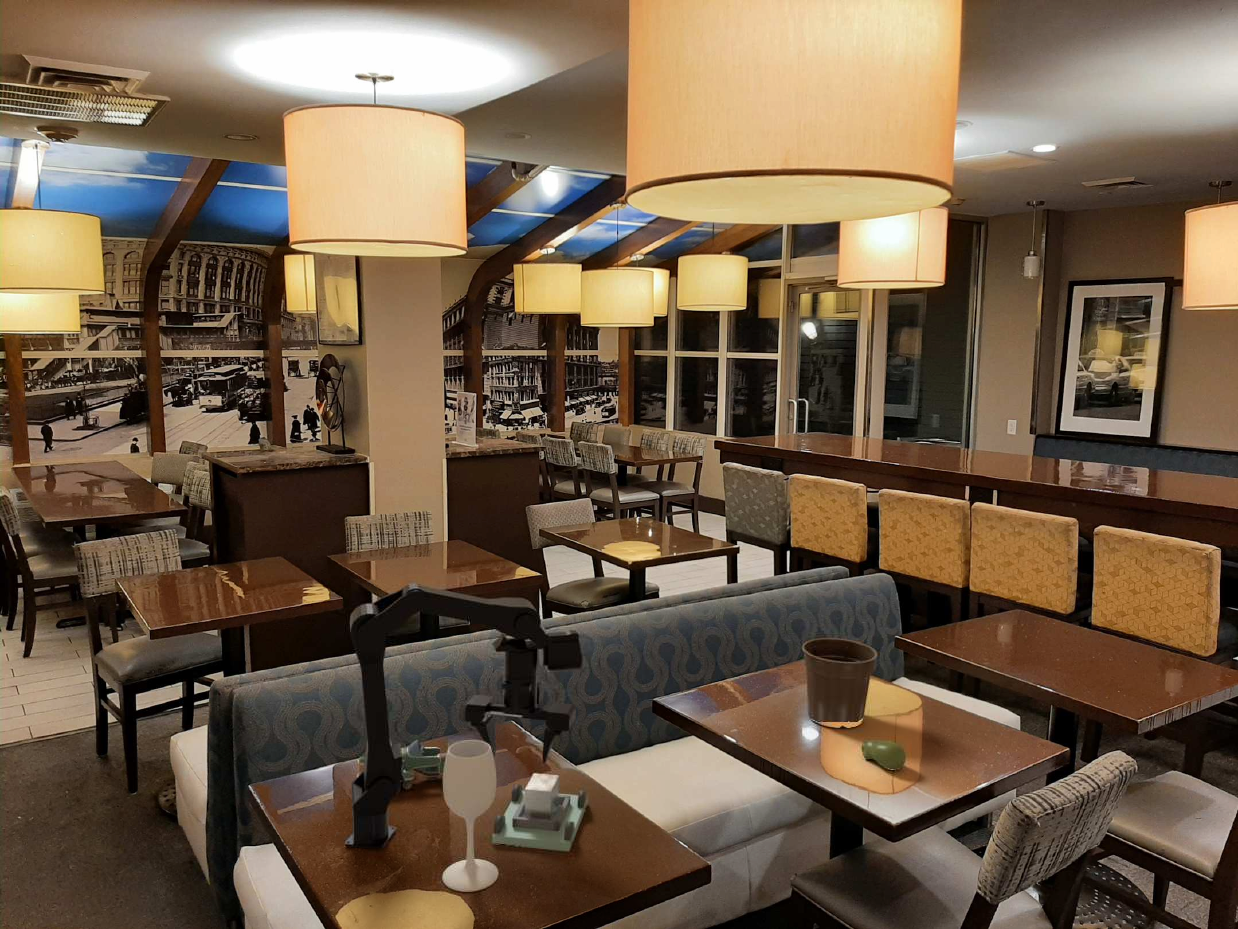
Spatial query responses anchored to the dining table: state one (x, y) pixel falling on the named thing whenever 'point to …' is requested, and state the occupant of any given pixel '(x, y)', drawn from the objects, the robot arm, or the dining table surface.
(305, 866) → the dining table surface
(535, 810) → the white block
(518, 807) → the chassis
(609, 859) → the dining table surface
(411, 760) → the hoverbike
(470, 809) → the wineglass
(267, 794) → the dining table surface
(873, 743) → the pear
